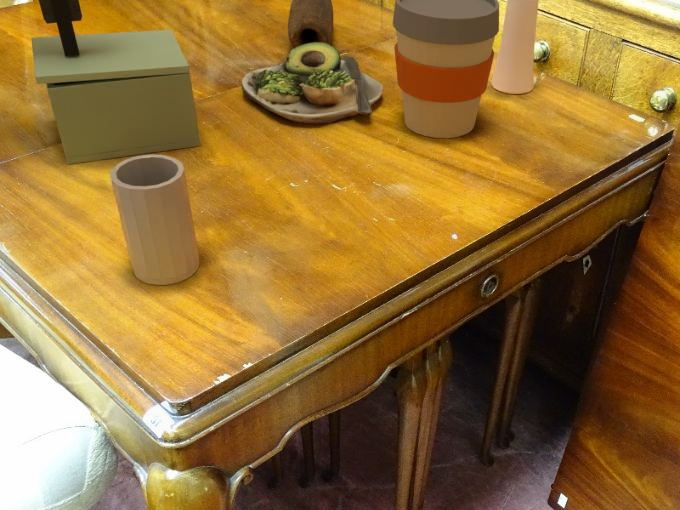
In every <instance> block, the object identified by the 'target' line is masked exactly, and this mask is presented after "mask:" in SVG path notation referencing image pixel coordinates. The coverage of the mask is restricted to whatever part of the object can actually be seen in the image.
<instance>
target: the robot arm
mask: <svg viewBox="0 0 680 510" xmlns="http://www.w3.org/2000/svg"><path fill="white" fill-rule="evenodd" d="M38 3H39V7H40V11H41V15H42V17H43V20H44V22H45V23H46V24H56V27H57V30H58V34H59V36H60V38H61V42H62V46H63V50H64V54H65V56H76V55H80V54H79V49H78V45H77V41H76V37H75V35H76V32H75V28H74V24H73V22H82V19H83V14H82V9H81V5H80V1H79V0H38Z"/></svg>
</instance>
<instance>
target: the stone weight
mask: <svg viewBox="0 0 680 510" xmlns="http://www.w3.org/2000/svg"><path fill="white" fill-rule="evenodd" d="M333 6H334V5H333V1H332V0H292V1H291V4H290V8H289V14H288V19H287V34H288V36H287V37H288V39H289V43H290V44H291V46H292V48H293V49H294V48H295V47H297V46H300V45H303V44H307V43H313V42H322V43H326V44H330V45H331V43H332V38H333V33H334V7H333Z"/></svg>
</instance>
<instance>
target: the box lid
mask: <svg viewBox="0 0 680 510" xmlns="http://www.w3.org/2000/svg"><path fill="white" fill-rule="evenodd" d="M75 37H76V41H77V45H78V49H79V54H80V55H76V56H65V54H64V50H63V46H62V42H61V38H60V35H53V36H35V37H31V38H30V40H31V49H32V58H33V67H34V78H35V82H36V85H44V84H45V85H47V84H46V83H59V82H72V81H86V80H99V79H112V78H126V77H139V76H152V75H166V74H179V73H190V74H191V71H190V65H189V63H188V61H187V59H186V57H185V55H184V53H183V51H182V48H181V47H180V45H179V42H178V40H177V38H176V36H175V34H174V31H173V30H172V29H161V30H144V31H143V30H142V31H126V32H123V31H122V32H108V33H107V32H106V33H105V32H104V33H89V34H75Z"/></svg>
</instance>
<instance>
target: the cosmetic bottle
mask: <svg viewBox="0 0 680 510" xmlns="http://www.w3.org/2000/svg"><path fill="white" fill-rule="evenodd" d="M538 12H539V0H506V7H505V14H504V20H503V26H502V33H501V38H500V43H499V48H498V53H497V58H496V62H495V65H494V69H493V74H492V77H491V81H490V85H491V87H492V88H493V89H494V90H497V91H498V92H501V93H504V94H509V95H522V94H527V93H529V92H531V91H533V90H534V87H535V79H534V63H535V61H534V60H535V45H536V43H535V41H536V31H537V20H538Z"/></svg>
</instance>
